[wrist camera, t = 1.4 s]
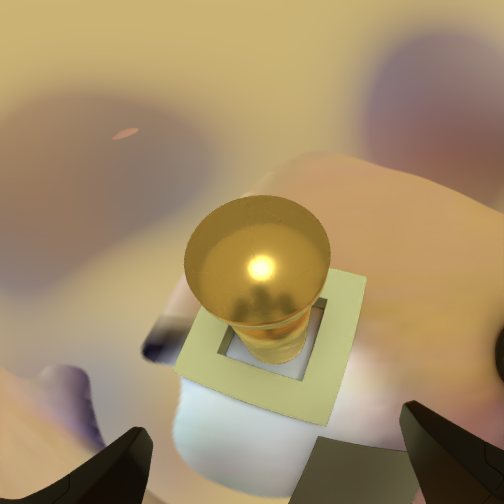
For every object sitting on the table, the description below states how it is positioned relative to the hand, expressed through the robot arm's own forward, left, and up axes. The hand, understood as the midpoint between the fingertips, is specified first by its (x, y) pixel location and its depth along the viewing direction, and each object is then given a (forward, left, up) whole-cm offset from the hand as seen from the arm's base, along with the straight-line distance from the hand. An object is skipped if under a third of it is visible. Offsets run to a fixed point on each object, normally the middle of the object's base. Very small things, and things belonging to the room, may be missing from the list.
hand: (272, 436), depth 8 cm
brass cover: (+6, +3, -13) cm, 15 cm away
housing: (+6, +3, -13) cm, 15 cm away
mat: (-6, -8, -13) cm, 16 cm away
